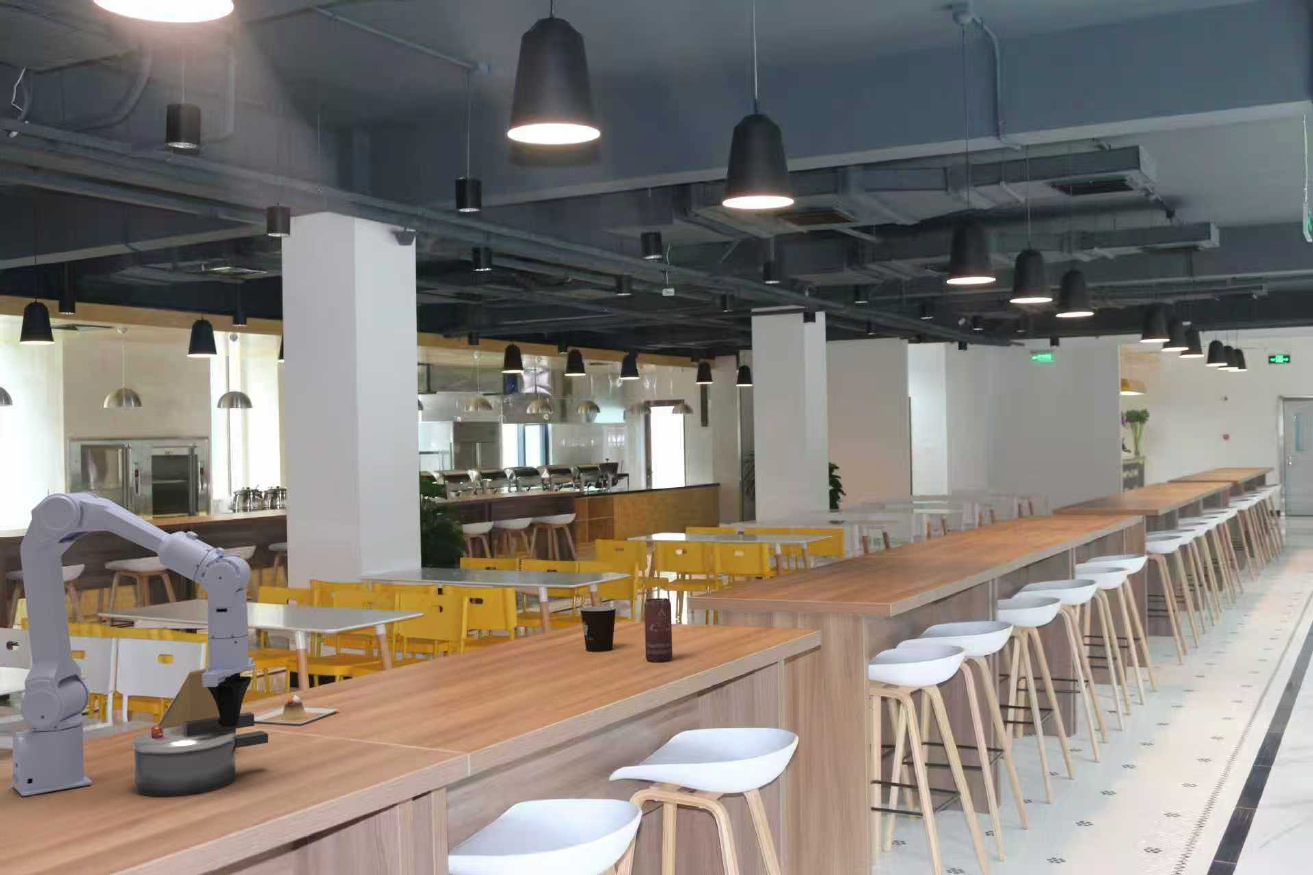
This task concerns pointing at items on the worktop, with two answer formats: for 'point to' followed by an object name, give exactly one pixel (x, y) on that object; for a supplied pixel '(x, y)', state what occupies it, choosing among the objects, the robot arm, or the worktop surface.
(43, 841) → the worktop surface
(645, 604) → the can
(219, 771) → the cooker pot
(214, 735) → the cooker lid
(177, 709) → the sandwich container
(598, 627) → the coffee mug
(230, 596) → the robot arm
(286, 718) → the dessert
